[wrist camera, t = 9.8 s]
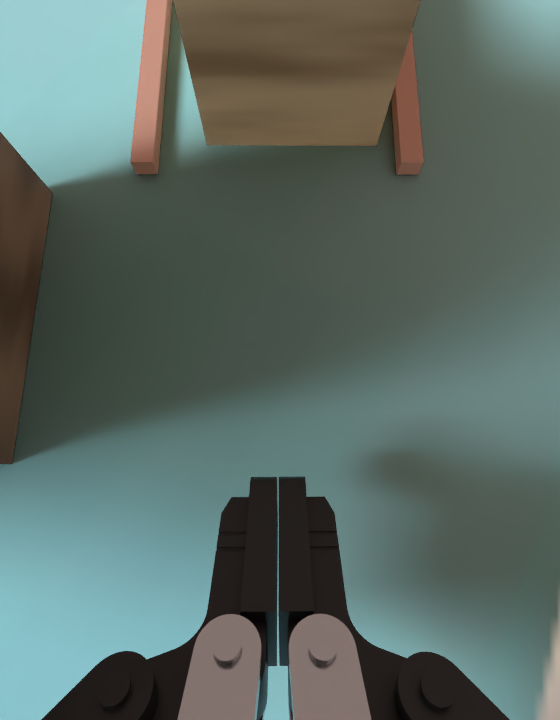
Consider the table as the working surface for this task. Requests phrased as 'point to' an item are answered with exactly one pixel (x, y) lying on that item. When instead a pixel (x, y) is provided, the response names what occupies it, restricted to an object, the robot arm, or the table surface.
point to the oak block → (294, 68)
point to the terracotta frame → (154, 93)
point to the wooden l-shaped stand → (18, 280)
